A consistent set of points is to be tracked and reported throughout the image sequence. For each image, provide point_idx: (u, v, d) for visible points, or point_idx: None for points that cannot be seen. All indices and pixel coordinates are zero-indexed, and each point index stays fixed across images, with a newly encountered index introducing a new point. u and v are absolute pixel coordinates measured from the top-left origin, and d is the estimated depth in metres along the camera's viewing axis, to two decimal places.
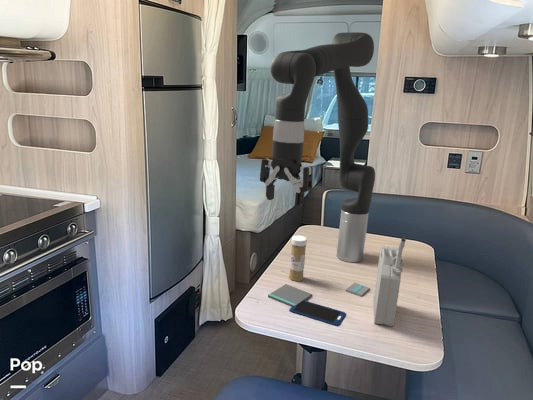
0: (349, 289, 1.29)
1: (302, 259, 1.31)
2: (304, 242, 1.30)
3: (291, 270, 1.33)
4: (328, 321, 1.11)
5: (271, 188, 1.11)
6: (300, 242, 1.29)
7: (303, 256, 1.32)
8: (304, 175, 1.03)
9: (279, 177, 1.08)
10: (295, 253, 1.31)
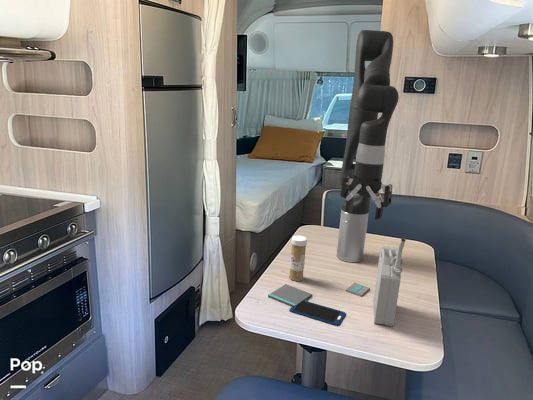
0: (349, 289, 1.29)
1: (302, 259, 1.31)
2: (304, 242, 1.30)
3: (291, 270, 1.33)
4: (328, 321, 1.11)
5: (351, 203, 1.25)
6: (300, 242, 1.29)
7: (303, 256, 1.32)
8: (385, 192, 1.17)
9: (360, 193, 1.22)
10: (295, 253, 1.31)
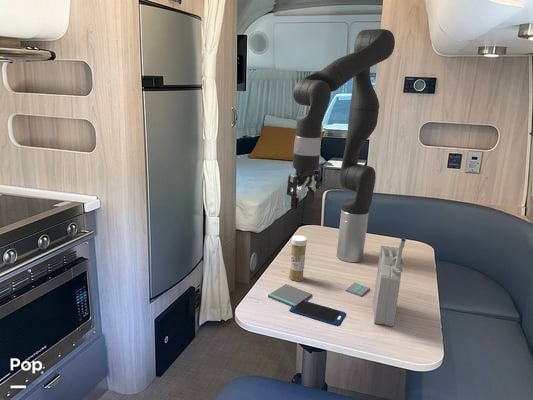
0: (349, 289, 1.29)
1: (302, 259, 1.31)
2: (304, 242, 1.30)
3: (291, 270, 1.33)
4: (328, 321, 1.11)
5: (309, 194, 1.31)
6: (300, 242, 1.29)
7: (303, 256, 1.32)
8: None
9: None
10: (295, 253, 1.31)
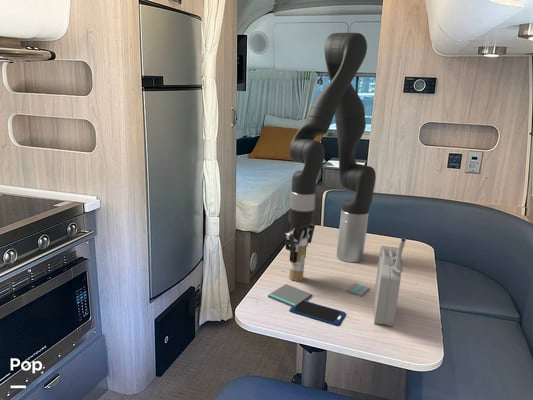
0: (349, 289, 1.29)
1: (302, 259, 1.31)
2: (304, 242, 1.30)
3: (291, 270, 1.33)
4: (328, 321, 1.11)
5: None
6: None
7: (303, 256, 1.32)
8: None
9: None
10: None
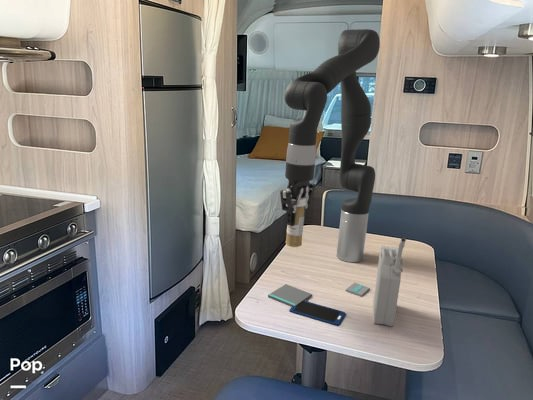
0: (349, 289, 1.29)
1: (300, 221, 1.16)
2: (303, 202, 1.14)
3: (288, 235, 1.17)
4: (328, 321, 1.12)
5: None
6: None
7: (302, 218, 1.16)
8: None
9: None
10: None
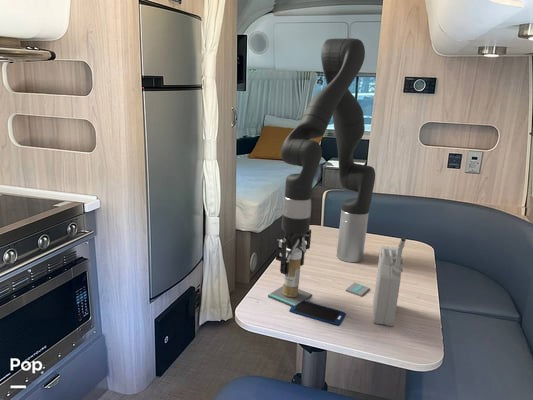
0: (349, 289, 1.29)
1: (297, 273, 1.20)
2: (299, 255, 1.19)
3: (285, 285, 1.22)
4: (328, 321, 1.12)
5: None
6: (294, 255, 1.18)
7: (298, 270, 1.20)
8: None
9: None
10: (289, 268, 1.20)
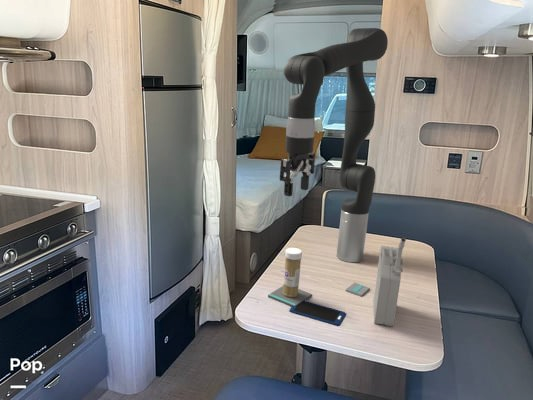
0: (349, 289, 1.29)
1: (297, 273, 1.20)
2: (299, 255, 1.19)
3: (285, 286, 1.22)
4: (328, 321, 1.12)
5: (303, 179, 1.24)
6: (294, 255, 1.18)
7: (298, 270, 1.20)
8: None
9: None
10: (289, 268, 1.20)
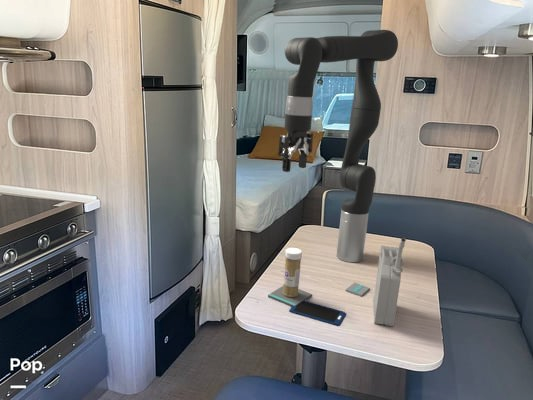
0: (349, 289, 1.29)
1: (297, 273, 1.20)
2: (299, 255, 1.19)
3: (285, 285, 1.22)
4: (329, 321, 1.12)
5: (301, 157, 1.29)
6: (294, 255, 1.18)
7: (298, 270, 1.20)
8: None
9: None
10: (289, 268, 1.20)
